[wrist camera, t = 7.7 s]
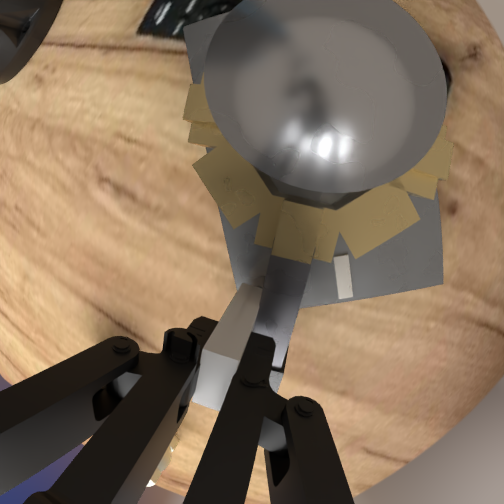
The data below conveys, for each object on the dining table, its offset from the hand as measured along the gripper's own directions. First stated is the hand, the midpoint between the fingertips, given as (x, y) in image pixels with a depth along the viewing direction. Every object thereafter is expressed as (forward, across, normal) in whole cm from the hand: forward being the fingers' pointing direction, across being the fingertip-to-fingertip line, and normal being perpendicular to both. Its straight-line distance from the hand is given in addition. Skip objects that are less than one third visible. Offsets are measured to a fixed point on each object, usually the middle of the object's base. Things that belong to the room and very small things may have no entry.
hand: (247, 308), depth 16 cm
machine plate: (+4, +1, +10) cm, 11 cm away
